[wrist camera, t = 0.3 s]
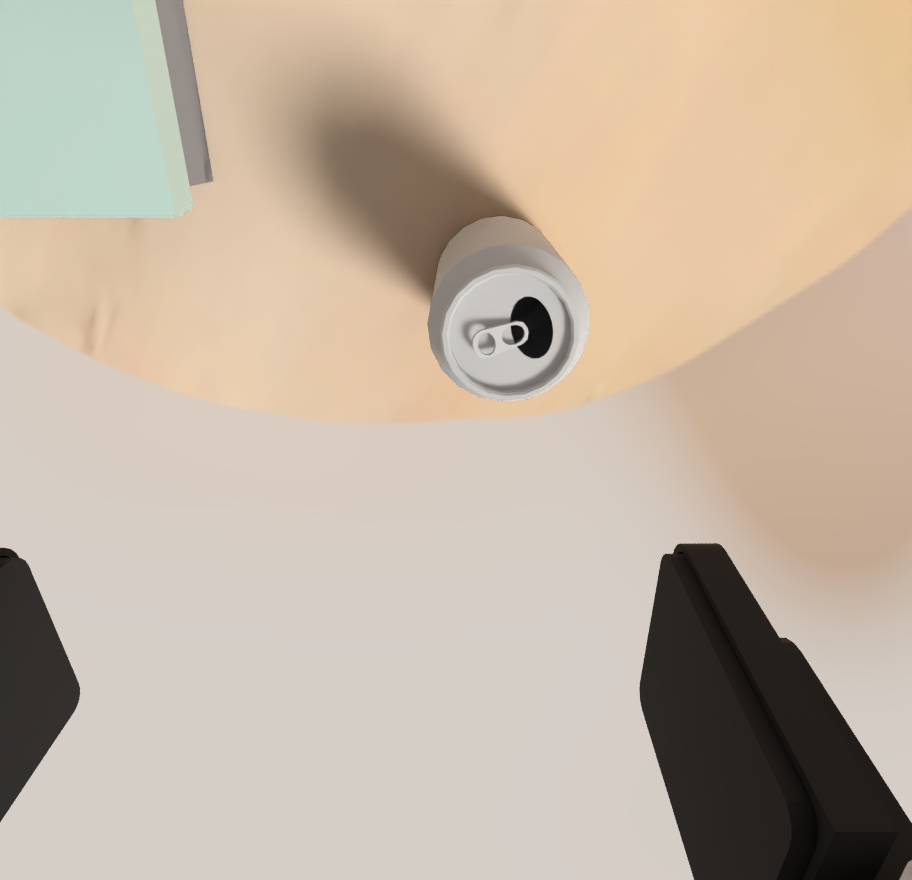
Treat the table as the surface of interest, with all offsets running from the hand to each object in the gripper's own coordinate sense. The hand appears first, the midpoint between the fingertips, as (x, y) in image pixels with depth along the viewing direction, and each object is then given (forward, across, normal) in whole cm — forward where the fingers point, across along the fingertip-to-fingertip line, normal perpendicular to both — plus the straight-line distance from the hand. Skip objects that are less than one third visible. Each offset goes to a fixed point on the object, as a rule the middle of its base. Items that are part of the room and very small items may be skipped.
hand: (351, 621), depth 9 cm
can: (+31, -4, +2) cm, 31 cm away
